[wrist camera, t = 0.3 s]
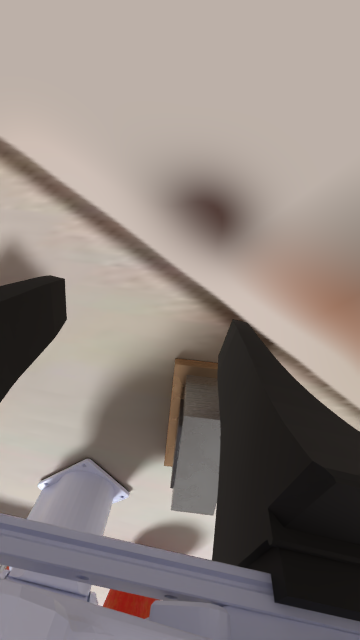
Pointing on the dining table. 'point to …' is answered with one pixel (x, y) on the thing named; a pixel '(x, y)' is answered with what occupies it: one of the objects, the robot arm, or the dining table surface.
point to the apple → (129, 603)
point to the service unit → (194, 437)
